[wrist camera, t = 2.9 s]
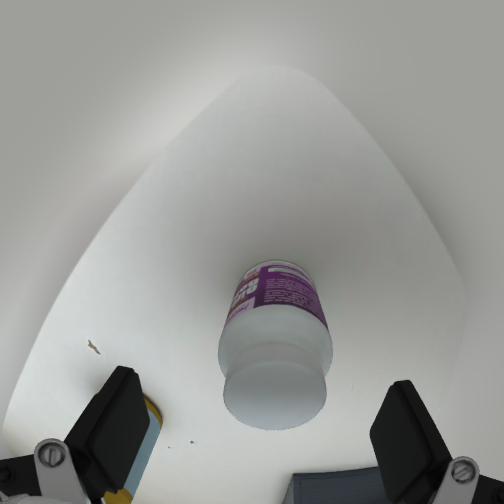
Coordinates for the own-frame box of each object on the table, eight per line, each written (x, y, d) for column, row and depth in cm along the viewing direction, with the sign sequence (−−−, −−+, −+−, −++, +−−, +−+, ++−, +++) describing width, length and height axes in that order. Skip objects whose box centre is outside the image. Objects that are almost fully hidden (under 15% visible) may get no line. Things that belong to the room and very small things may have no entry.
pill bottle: (242, 250, 18) (212, 330, 9) (323, 266, 18) (366, 354, 9) (229, 323, 20) (200, 428, 10) (303, 336, 20) (318, 445, 10)
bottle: (178, 421, 23) (131, 551, 9) (137, 435, 25) (90, 538, 10) (125, 374, 22) (44, 501, 8) (91, 394, 24) (22, 493, 9)
